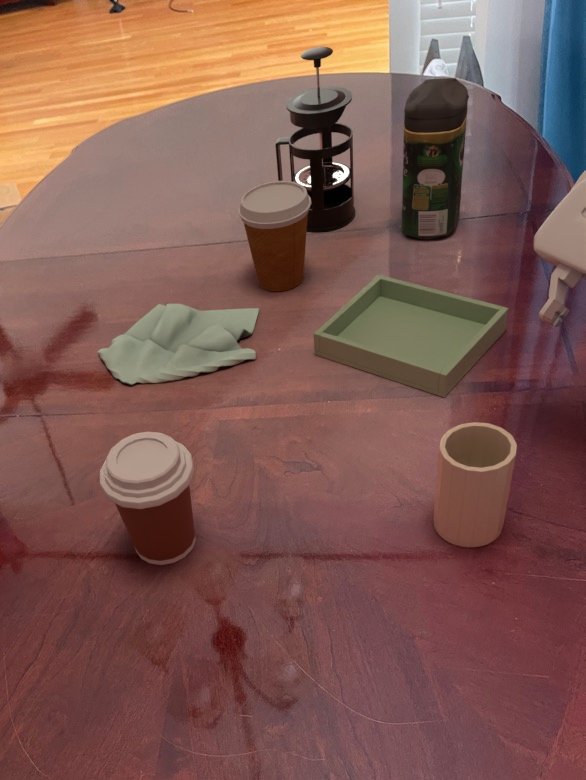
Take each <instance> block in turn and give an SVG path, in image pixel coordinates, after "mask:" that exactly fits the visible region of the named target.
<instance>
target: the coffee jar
mask: <svg viewBox="0 0 586 780" xmlns="http://www.w3.org/2000/svg"><path fill="white" fill-rule="evenodd" d="M468 93H469V92H468V88H467V86H465V84H463V83H462V82H461V81H459V80H458V79H457V78H456V77H447V78H445V77H444V78H430V79H425V80H424V81H423V82H422V83H421V84H419V85H417V86H416V87H415V88H414V89H412V91H410V93H409V95H408V97H407V99H406V101H405V105H404V114H403V115H404V118H403V145H402V149H403V150H402V151H403V152H402V154H403V155H402V190H401V191H402V195H401V196H402V197H401V231H402V233H403V234H404V235H406V236H409V237H412V238H414V239H418V240H435V239H437V238H442V237H444V236H449V235H451V234H452V233H453V232H454V230H456V227H457V225H458V222H459V219H460V212H461V201H462V184H463V170H464V159H465V147H466V133H467V122H468V121H467V120H468V102H469V98H470V95H469V94H468Z"/></svg>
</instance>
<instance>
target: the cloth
mask: <svg viewBox="0 0 586 780" xmlns="http://www.w3.org/2000/svg"><path fill="white" fill-rule="evenodd" d="M259 312H260V307H251V308H249V307H247V308H230V309H228V308H226V309H208V310H206V309H205V310H199V309H196V308H193V307H192V306H189V305H186V304H183V303H167V304H166V305H165V304H161V303H158V304H157V305H156V306H154V307H153V308H152V309H151V310H149V311H148V312H147V313H146V314H144V315H143V317H141V318H140V319H138V320H137V322H135V323H134V324H133V325H132V326H131V327H130V328H129V329H128V330H127V331H125V332H123V333H122V334H120V335H118V336H115V337H114V338H113V339H112V340H111V341H110V345H109V347H102V348H100V349H99V350H98V351H97V352H96V353H97V355H98V356H99V359H100V360H101V361H102V362H103V364H104V365H105V367H106V368H107V369H108V370H109V371H110V373H111V375H112V378H114V379H115V380H116V379H117V380H119V381H120V382H122V383H123V384H125V385H129V386H133V385H134V384H136V383H140V384H161V383H166V382H170V381H180V380H183V379H185V378H189V377H190V378H193V377H197V376H200V375H202V374H206V373H214V372H216V371H219V370H221V369H223V368H226V367H230V366H231V367H233V366H237V365H239V364H241V363H243V362H245V361H247V360H256V358H257V357H256V356H257V352H256V350H255V349H252V348H249V347H246V348H242V347H241V345H240V344H239V343H238V341H239V340H240V339H243V338H246V337H248V336H251V335H252V334H254V330H255V327H256V324H257V320H258V317H259Z"/></svg>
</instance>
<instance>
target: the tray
mask: <svg viewBox="0 0 586 780" xmlns="http://www.w3.org/2000/svg"><path fill="white" fill-rule="evenodd" d="M509 309H510V308H509V307H506V306H503V305H499V304H495V303H491V302H487V301H483V300H480V299H476V298H471V297H467V296H464V295H459V294H456V293H452V292H447V291H444V290H440V289H438V288H437V289H436V288H433V287H429V286H426V285H421V284H417V283H413V282H409V281H407V280H406V281H405V280H401V279H397V278H394V277H393V278H392V277H390V276H386V275H382V274H377V275H376V276H375V277H374V278H373V279H372V280H371V281H370V282H368V284H365V286H364V287H363V288H361V290H360V291H358V293H356V294H355V295H354V296H353V297H352V298H351V299H350V300H349V301H348V302H347V303H345V304H344V305H343V306H342V307H341V308H340V309H339V310H338V311H337V312H336V313H334V314H333V315H332V316H331V317H330V318H329V319H328V320H326V321H325V322H324V323H323V324H322V325H321V326H320V327H318V328H317V329H316V331H314V332H313V344H314V345H313V348H314V350H313V351H314V356H315V355H316V356H319V357H321V358H324V359H327V360H330V361H333V362H336V363H339V364H341V365H342V364H343V365H346V366H348V367H350V368H354V369H358V370H361V371H364V372H366V373H369V374H373V375H376V376H378V377H381V378H384V379H387V380H390V381H393V382H395V383H399V384H402V385H406V386H408V387H410V388H411V387H412V388H414V389H418V390H421V391H423V392H427V393H430V394H432V395H435V396H439V397H441V398H446V396H448V394H449V393H450V392H451V391H452V390H453V388H454V387H456V385H457V384H458V383H459V382H460V381H461V380H462V379H463V378H464V377H465V375H466V374H467V373H468V372H469V371H470V370H471V369H472V368H473V367H474V366H475V364H476V363H477V362H479V360H480V359H481V358H482V357H483V356H484V355H485V354H486V352H487V351H488V350H489V349H490V348H491V347H492V346H493V345H494V343H495V342H497V341H498V340H499V338H500V337H501V336H502V335H503V334H504V333H505V332H506V331H507V324H508V316H509Z"/></svg>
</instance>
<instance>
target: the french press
mask: <svg viewBox="0 0 586 780" xmlns="http://www.w3.org/2000/svg"><path fill="white" fill-rule="evenodd" d="M333 53H334V50H333V48H331V47H329V46H315V47H311V48H309V49H306V50H304V51H303V52H302V53H301V54H300V58H301V59H303V60H304V61H305V60H306V61H313V67H314V68H315V73H316V74H315V75H316V87H313V88H307V89H305V90H303V91H300V92H298V93H295V94H294V95H292V96H291V97H289V98H288V100H287V101H286V103H285V107H286V110H287V111H288V112H289V119H290V123H291V124H292V125H293V126H295V127H297V128H299V129H297V130H295V131H294V132H293V133H292V134H290V136H285V137H278V138H277V140H276V142H275V156H276V157H275V158H276V168H277V181H284V177H283V165H282V151H281V146H283V145H288V152H289V167H290V181H292V182H296V183H299V184H301V185H302V186H304V187H305V188H306V190H307V194H308V195H309V196H310V198H311V206H310V208H309V212H308V217H307V232H311V233H325V232H331V231H334V230H338V229H341V228H343V227H345V226H347V225H349V224H350V223H351V222H352V221H353V220H354V218H355V217H356V208H355V198H354V197H355V194H354V139H353V138H354V134H353V133H354V131H353V128H351V127H350V126H349V125H348V124H344V123H340V122H339V120H340V119H341V117H342V116H343V114H344V112H345V110H346V107H347V106H348V105H349V104H350V103H351V102H352V101H353V93H352V91H350V90H349V89H347V88H344V87H340V86H321V85H320V84H321V83H320V67H321V66H322V59H326V58H329V57H330V56H331V55H332V54H333ZM332 133H334V134H335V133H337V134H342V135H345V136H346V137H348V138H347V139H346V140H344V141H343V142H340V143H339V144H336V145H333V137H332V136H333V135H332ZM316 134H318V141H319V149H306V148H300V147H297V146H295V145H294V144H295V143H296V142H298V141H299V140H301V139H303V138H306V137H308V136H311V135H312V136H313V135H316ZM348 150H349V166H348V165H347V164H344V163H341V162H336V161H333V157H336V156H339V155H341V154H343V153H345V152H347V151H348ZM294 157H295V158H296V159H300V160H308V161H309V164H308V165H306V166H304V167H302V168H300V169H299V170H298V171H296V172H295V160H294V159H295V158H294ZM349 181H350V185H349V184H347V183H348V182H349ZM325 205H335V206H333V207H329V208H325Z"/></svg>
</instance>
